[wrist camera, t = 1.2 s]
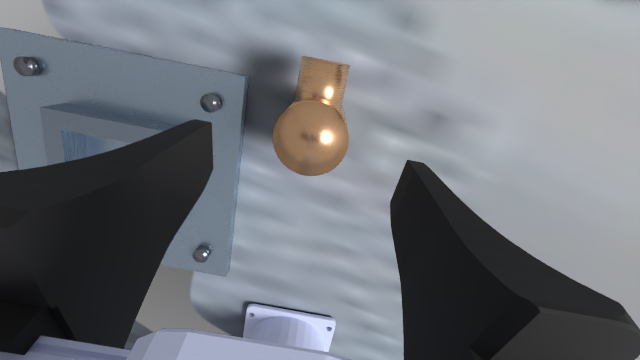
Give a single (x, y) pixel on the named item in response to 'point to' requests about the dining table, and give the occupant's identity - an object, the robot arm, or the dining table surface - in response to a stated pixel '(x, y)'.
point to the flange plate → (127, 122)
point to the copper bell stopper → (314, 120)
